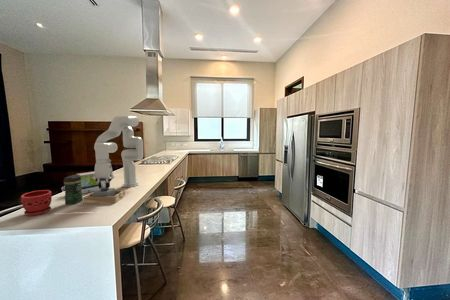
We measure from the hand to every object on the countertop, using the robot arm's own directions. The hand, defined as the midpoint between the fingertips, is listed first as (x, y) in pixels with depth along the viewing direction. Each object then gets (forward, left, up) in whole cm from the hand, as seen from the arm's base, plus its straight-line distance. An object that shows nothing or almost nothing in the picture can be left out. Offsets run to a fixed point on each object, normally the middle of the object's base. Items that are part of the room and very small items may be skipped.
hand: (104, 187), depth 139 cm
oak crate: (0, 0, -9) cm, 9 cm away
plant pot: (+18, -29, -9) cm, 35 cm away
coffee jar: (+2, -19, -9) cm, 21 cm away
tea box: (-26, -25, -9) cm, 37 cm away
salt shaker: (0, 0, -3) cm, 3 cm away
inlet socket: (0, 0, -9) cm, 9 cm away
